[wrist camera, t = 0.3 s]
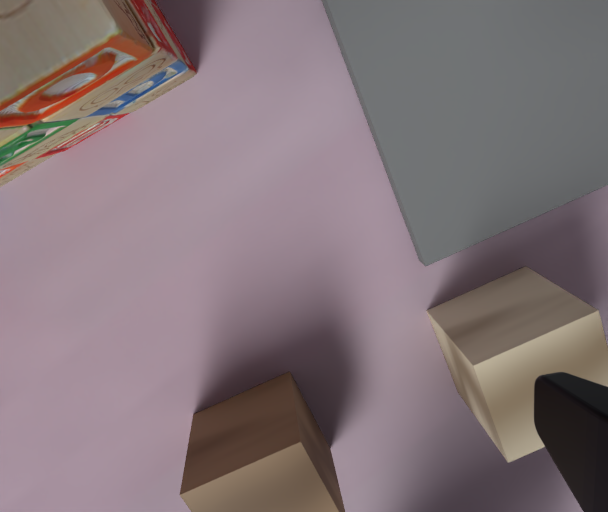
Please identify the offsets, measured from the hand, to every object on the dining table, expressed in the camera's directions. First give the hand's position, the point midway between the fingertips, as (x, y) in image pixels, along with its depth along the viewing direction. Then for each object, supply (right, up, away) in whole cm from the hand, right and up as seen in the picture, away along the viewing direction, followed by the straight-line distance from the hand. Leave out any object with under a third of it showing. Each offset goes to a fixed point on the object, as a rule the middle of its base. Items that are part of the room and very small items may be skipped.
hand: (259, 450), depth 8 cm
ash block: (+10, -1, +16) cm, 19 cm away
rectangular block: (-1, -6, +16) cm, 17 cm away
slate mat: (+9, +10, +12) cm, 18 cm away
